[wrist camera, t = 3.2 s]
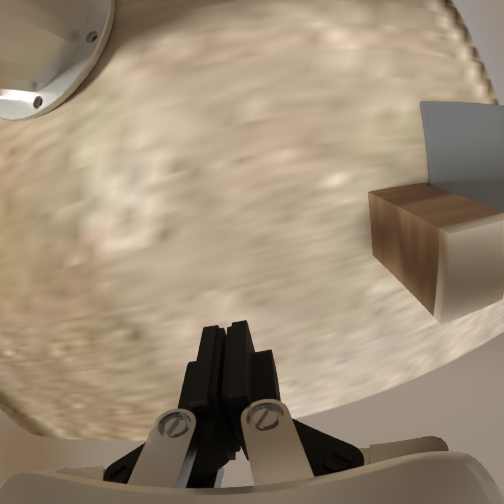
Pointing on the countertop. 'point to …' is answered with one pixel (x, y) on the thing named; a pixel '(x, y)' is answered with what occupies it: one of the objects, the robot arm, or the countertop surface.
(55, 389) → the countertop surface
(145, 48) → the countertop surface
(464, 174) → the grey mat
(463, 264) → the walnut block
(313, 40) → the countertop surface
